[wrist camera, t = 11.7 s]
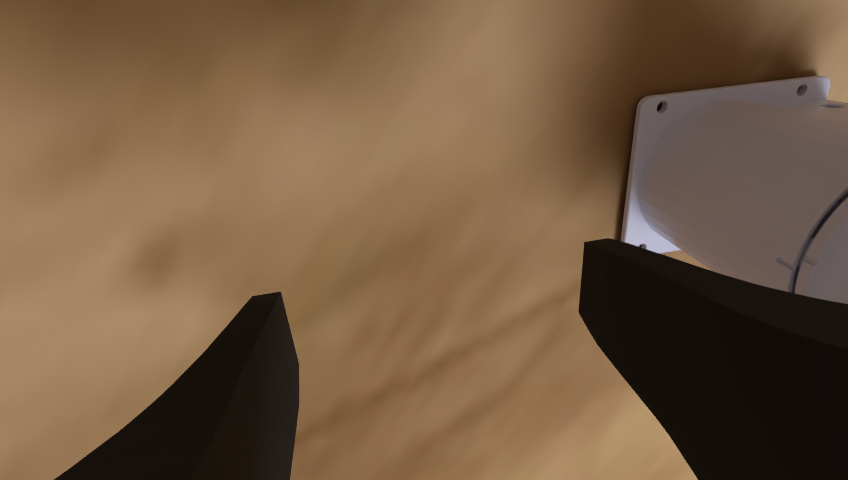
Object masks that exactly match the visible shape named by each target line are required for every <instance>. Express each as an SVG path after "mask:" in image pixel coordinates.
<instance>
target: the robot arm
mask: <svg viewBox="0 0 848 480" xmlns="http://www.w3.org/2000/svg"><path fill="white" fill-rule="evenodd" d="M799 87H800V89H799V91H798V92H797V90H798V88H799ZM829 88H830V80H829V78H828V77H825V76H810V77H801V78H793V79H784V80H776V81H768V82H759V83H751V84H742V85H734V86H725V87H717V88H708V89H700V90H692V91H683V92H675V93H666V94H658V95H649V96H646V97H644V98H643V99H641V100H640V102H639V103H638V106H637V110H636V118H635V126H634V135H633V143H632V151H631V159H630V168H629V176H628V184H627V192H626V201H625V209H624V217H623V225H622V233H621V241H618V240H614V239H609V238H607V239H601V240H595V241H589V242H584V254H583V266H582V278H581V290H580V302H579V314H580V316H581V317H582V319H583V321H584V323H585V325H586V326H587V328H588V330H589V332H590V333H591V335H592V336H593V338H594V340H595V341H596V343H597V345H598V346H599V347H600V349H601V350H602V351H603V352H604V354H605V355H606V356H607V358H608V359H609V360H610V361H611V363H612V364H613V365H614V366H615V368H616V369H617V370H618V371H619V373H620V374H621V375H622V376H623V378H624V379H625V380H626V381H627V382H628V384H629V385H630V386H631V387H632V389H633V390H634V391H635V392H636V394H637V395H638V396H639V397H640V399H641V400H642V401H643V402H644V403H645V405H646V406H647V407H648V408H649V410H650V411H651V412H652V413H653V415H654V416H655V417H656V418H657V420H658V421H659V422H660V424H661V425H662V426H663V428H664V429H665V430H666V432H667V433H668V434H669V436H670V437H671V439H672V440H673V442H674V443H675V445H676V446H677V448H678V449H679V451H680V452H681V454H682V456H683V457H684V459H685V460H686V462H687V463H688V465H689V466H690V468H691V469H692V471H693V472H694V474H695V475H696V477H697V479H698V480H848V103H843V102H837V101H831V100H826V98H827V94H828V91H829ZM660 102H662V107H661V109H660V110H659V111H657V106H658V104H659V103H660ZM641 244H642V246H641V247H638V246H639V245H641ZM677 250H682V251H684V252H685V253H687V254H688V255H690V256H691V257H693V258H694V259H696V260H697V261H699V262H700V263H702V264H703V265H705V266H706V267H708V268H709V269H711V270H712V271H710V270H707V269H704V268H701V267H698V266H695V265H692V264H689V263H686V262H683V261H680V260H677V259H674V258H671V257H668V256H665V255H662V254H659V253H665V252H671V251H677ZM713 271H714V272H713ZM298 409H299V363H298V359H297V355H296V351H295V347H294V343H293V339H292V335H291V331H290V327H289V323H288V319H287V315H286V311H285V307H284V303H283V299H282V295H281V292H276V293H270V294H263V295H257V296H252V297H251V299H250V300H249V301H248V302H247V303H246V304H245V305H244V306H243V308H242V309H241V310H240V311H239V312H238V314H237V315H236V316H235V317H234V318H233V320H232V321H231V322H230V323H229V324H228V325H227V327H226V328H225V329H224V330H223V331H222V332H221V333H220V335H219V336H218V337H217V338H216V339H215V340H214V341H213V343H212V344H211V345H210V346H209V347H208V348H207V349H206V351H205V352H204V353H203V354H202V355H201V356H200V357H199V358H198V359H197V360H196V361H195V362H194V363H193V364H192V365H191V366H190V367H189V368H188V369H187V370H186V371H185V372H184V373H183V374H182V375H181V376H180V377H179V378H178V379H177V380H176V381H175V382H174V383H173V384H172V385H171V386H170V387H169V388H168V389H167V390H166V391H165V392H164V393H163V394H162V395H161V396H160V397H159V398H157V399H156V400H155V401H154V402H153V403H152V404H151V405H150V406H149V407H147V408H146V409H145V410H144V411H143V412H142V413H140V414H139V415H138V416H137V417H136V418H135V419H133V420H132V421H131V422H130V423H129V424H127V425H126V426H125V427H124V428H123V429H121V430H120V431H119V432H118V433H116V434H115V435H114V436H112V437H111V438H110V439H108V440H107V441H106V442H104V443H103V444H102V445H100V446H99V447H98V448H96V449H95V450H94V451H92V452H91V453H90V454H88V455H87V456H86V457H84V458H83V459H82V460H80V461H79V462H78V463H76V464H75V465H74V466H73V467H71V468H70V469H68V470H67V471H66V472H64V473H63V474H61V475H60V476H59V477H57V478H56V479H54V480H290V474H291V466H292V458H293V450H294V442H295V434H296V426H297V418H298Z"/></svg>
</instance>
